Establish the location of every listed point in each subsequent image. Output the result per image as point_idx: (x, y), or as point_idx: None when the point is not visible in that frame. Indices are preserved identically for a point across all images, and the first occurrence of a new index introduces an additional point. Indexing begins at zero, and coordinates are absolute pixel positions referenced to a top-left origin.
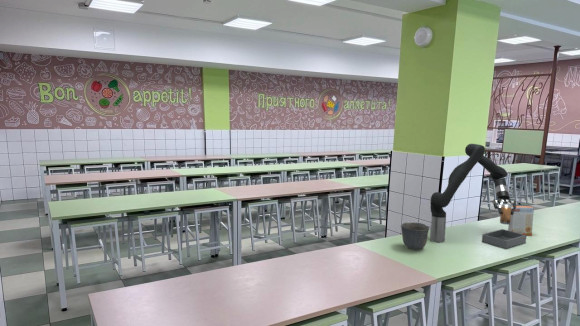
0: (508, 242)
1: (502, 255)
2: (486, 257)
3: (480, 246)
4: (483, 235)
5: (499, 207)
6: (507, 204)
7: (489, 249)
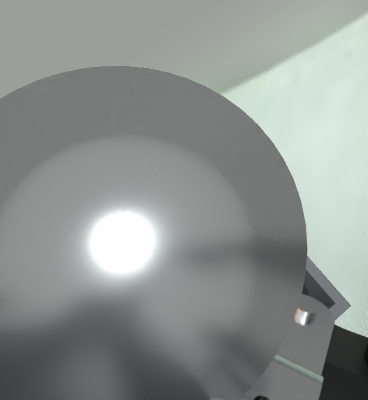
0: None
1: (267, 89)
2: (356, 61)
3: (351, 216)
4: (339, 297)
5: (307, 303)
6: (78, 201)
7: (309, 168)
